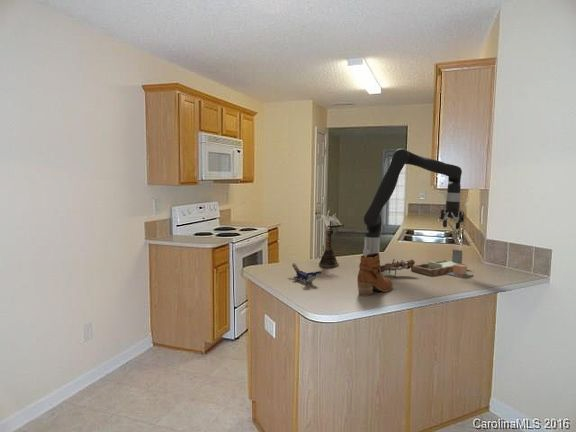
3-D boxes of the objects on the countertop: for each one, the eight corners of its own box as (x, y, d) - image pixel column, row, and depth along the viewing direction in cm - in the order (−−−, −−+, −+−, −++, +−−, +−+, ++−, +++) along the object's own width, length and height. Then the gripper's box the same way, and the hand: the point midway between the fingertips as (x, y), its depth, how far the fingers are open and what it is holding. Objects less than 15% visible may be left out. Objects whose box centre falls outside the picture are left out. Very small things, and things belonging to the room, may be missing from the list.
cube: (460, 275, 223) (461, 266, 222) (452, 273, 227) (453, 264, 227) (466, 274, 226) (466, 265, 225) (458, 272, 230) (458, 264, 229)
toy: (304, 292, 202) (306, 273, 199) (284, 272, 221) (286, 255, 218) (321, 289, 207) (324, 271, 204) (300, 270, 226) (302, 253, 223)
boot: (384, 285, 205) (385, 248, 203) (399, 289, 197) (400, 251, 195) (349, 292, 190) (350, 253, 189) (364, 297, 183) (365, 256, 181)
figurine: (363, 261, 226) (411, 251, 227) (364, 275, 230) (411, 266, 231) (368, 270, 217) (418, 260, 218) (370, 285, 221) (419, 275, 222)
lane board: (430, 275, 224) (430, 270, 224) (411, 270, 236) (411, 265, 236) (464, 269, 240) (464, 264, 239) (444, 265, 251) (444, 260, 251)
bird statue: (347, 268, 242) (349, 210, 238) (328, 270, 237) (329, 210, 234) (335, 262, 257) (336, 208, 254) (316, 264, 252) (317, 208, 249)
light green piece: (441, 270, 232) (441, 254, 231) (428, 267, 240) (428, 251, 239) (464, 266, 244) (465, 250, 243) (452, 263, 251) (452, 248, 250)
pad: (462, 278, 220) (462, 277, 219) (446, 274, 228) (446, 273, 228) (473, 275, 225) (473, 274, 225) (457, 272, 233) (457, 271, 233)
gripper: (438, 199, 237) (436, 227, 239) (459, 201, 225) (457, 230, 226) (447, 199, 241) (445, 226, 242) (468, 201, 228) (465, 229, 230)
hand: (451, 228), depth 234 cm, fingers open, 8 cm apart
